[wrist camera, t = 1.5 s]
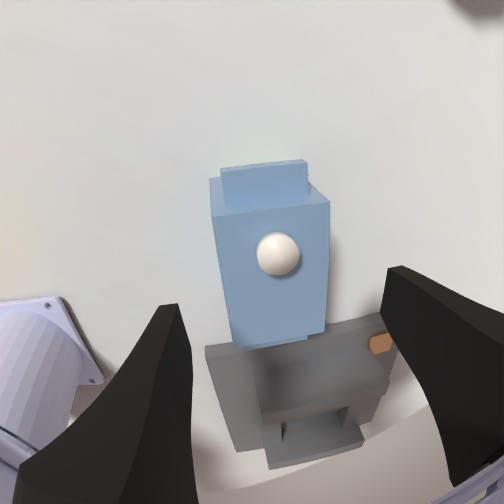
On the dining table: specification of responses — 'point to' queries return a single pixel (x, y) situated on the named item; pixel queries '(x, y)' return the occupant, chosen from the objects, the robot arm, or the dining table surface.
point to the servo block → (271, 251)
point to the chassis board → (304, 390)
